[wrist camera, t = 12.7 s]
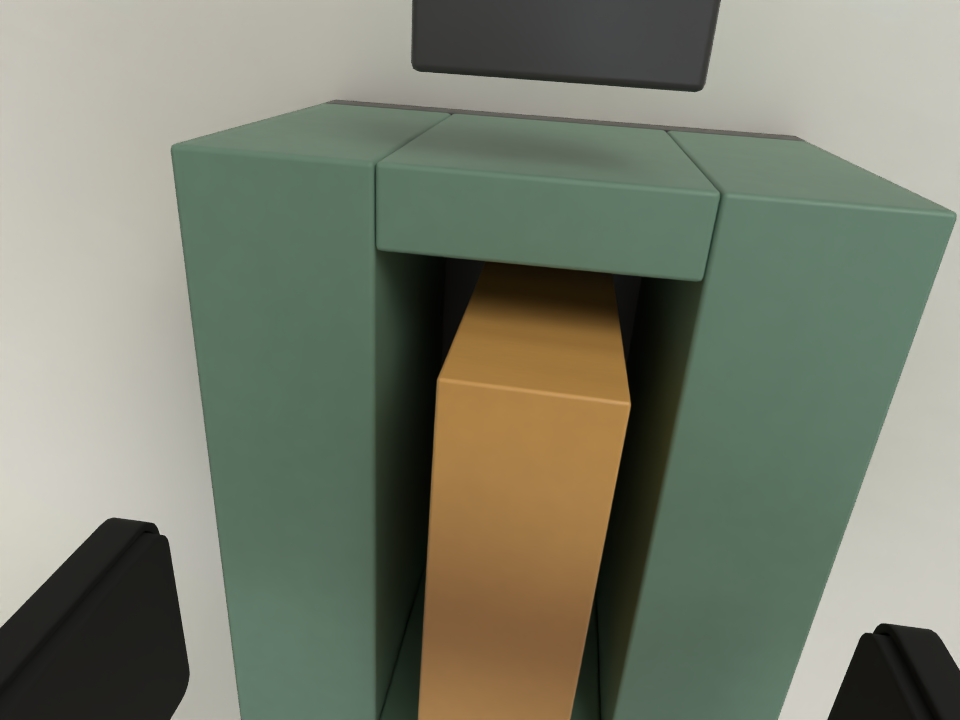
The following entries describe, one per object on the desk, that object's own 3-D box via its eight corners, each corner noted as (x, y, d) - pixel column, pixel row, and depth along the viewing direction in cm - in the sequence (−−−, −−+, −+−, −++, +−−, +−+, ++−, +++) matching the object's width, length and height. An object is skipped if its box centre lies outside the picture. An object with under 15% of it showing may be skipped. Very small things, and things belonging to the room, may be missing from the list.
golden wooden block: (499, 226, 15) (436, 378, 9) (608, 237, 15) (631, 403, 8) (474, 505, 19) (414, 776, 12) (563, 518, 19) (555, 800, 12)
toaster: (333, 99, 16) (167, 143, 9) (798, 135, 15) (961, 212, 8) (344, 530, 21) (242, 747, 14) (689, 576, 20) (740, 829, 14)
